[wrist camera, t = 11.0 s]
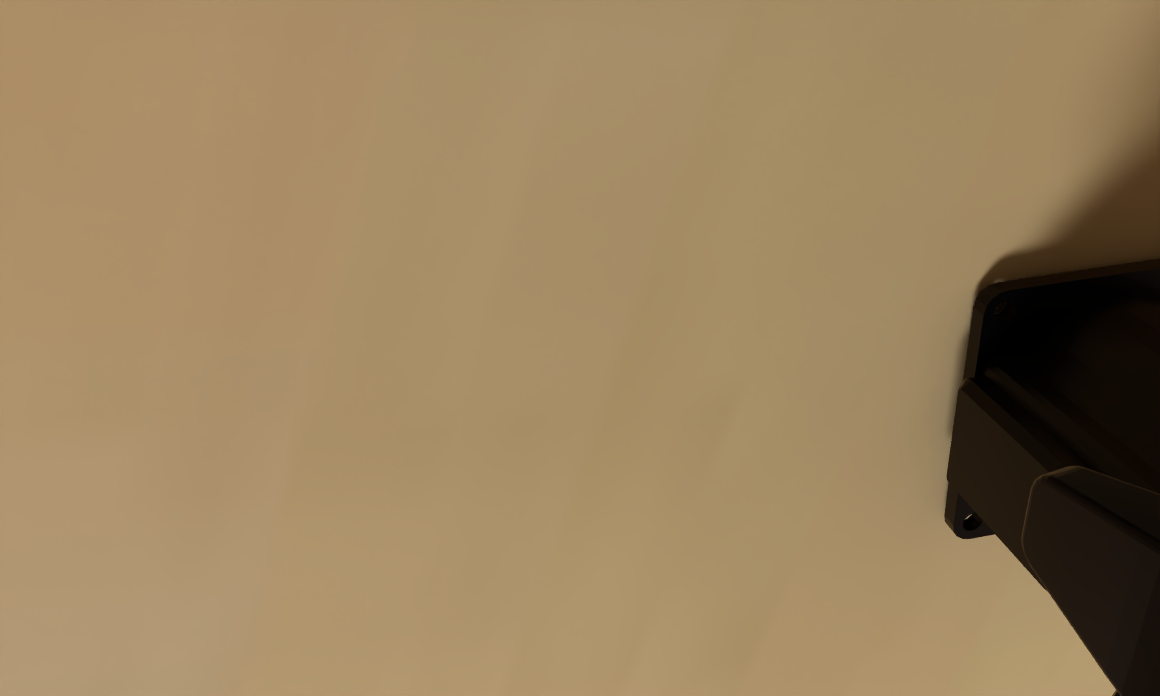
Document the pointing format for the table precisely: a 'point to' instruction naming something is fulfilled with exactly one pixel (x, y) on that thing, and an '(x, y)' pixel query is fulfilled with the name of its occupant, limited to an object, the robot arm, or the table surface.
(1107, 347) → the robot arm
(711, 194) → the table surface
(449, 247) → the table surface
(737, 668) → the table surface
